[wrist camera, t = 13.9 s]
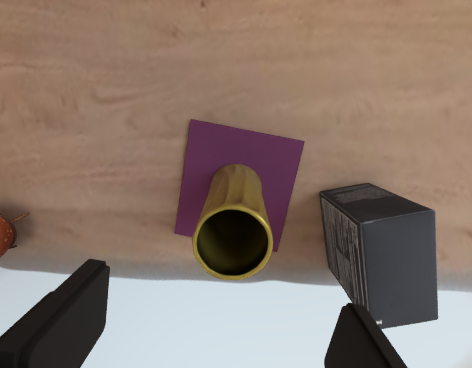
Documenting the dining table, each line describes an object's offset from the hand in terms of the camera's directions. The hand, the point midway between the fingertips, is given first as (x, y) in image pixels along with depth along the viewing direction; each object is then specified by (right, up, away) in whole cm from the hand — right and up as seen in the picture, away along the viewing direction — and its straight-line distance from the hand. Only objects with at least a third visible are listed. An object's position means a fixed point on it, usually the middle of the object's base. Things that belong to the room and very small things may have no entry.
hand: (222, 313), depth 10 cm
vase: (0, +4, +20) cm, 21 cm away
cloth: (+1, +4, +20) cm, 21 cm away
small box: (+14, 0, +21) cm, 26 cm away
